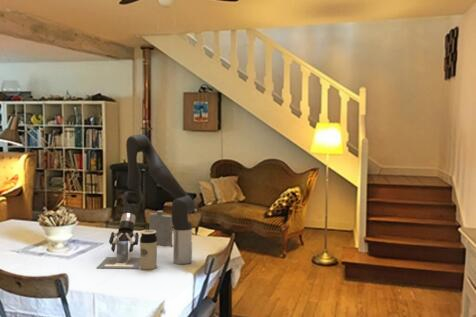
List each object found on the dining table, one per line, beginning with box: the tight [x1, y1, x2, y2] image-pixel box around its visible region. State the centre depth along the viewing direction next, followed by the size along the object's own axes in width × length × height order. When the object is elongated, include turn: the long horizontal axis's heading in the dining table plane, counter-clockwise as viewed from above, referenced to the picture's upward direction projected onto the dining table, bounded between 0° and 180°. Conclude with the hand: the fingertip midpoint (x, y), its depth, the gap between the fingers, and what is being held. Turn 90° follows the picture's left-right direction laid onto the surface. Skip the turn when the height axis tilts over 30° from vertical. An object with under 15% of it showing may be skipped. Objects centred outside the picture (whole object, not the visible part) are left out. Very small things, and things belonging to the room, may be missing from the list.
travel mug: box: [139, 229, 158, 271], centre depth 209 cm, size 8×8×18 cm
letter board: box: [96, 256, 140, 270], centre depth 216 cm, size 20×17×1 cm
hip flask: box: [148, 210, 173, 247], centre depth 250 cm, size 16×4×20 cm, turn 61°
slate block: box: [116, 241, 129, 263], centre depth 217 cm, size 4×4×10 cm
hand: (121, 251), depth 215 cm, fingers open, 8 cm apart
